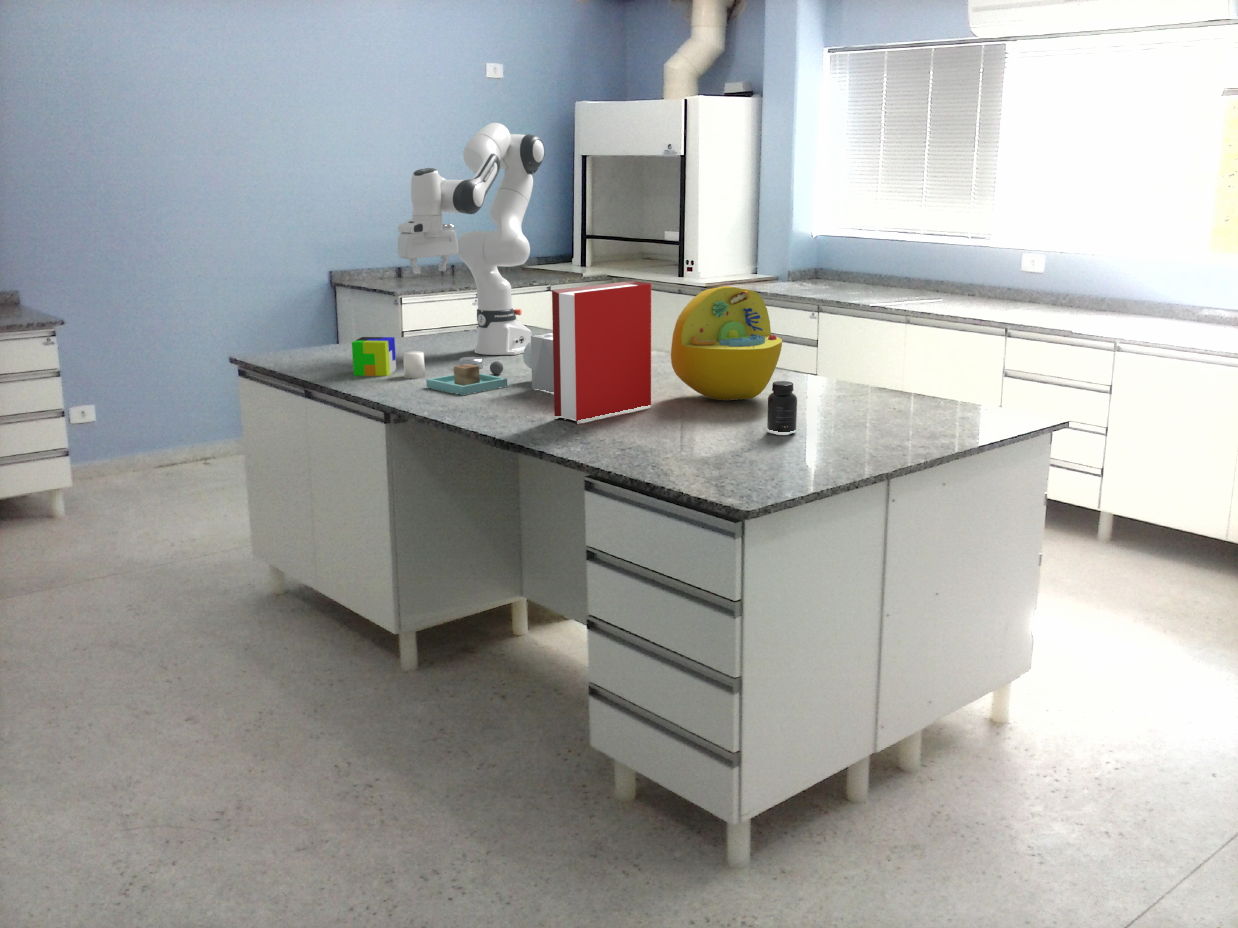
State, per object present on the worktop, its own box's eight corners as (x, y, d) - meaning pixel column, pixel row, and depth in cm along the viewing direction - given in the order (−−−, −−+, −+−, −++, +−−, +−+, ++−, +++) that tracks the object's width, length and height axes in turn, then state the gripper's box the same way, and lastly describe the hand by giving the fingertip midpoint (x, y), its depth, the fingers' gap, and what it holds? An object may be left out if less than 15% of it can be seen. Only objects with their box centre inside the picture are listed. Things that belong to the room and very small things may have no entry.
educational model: (716, 417, 292) (718, 296, 284) (649, 396, 316) (649, 284, 308) (806, 403, 307) (810, 288, 299) (736, 384, 331) (738, 277, 323)
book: (576, 425, 285) (574, 293, 277) (554, 419, 291) (551, 290, 282) (654, 407, 303) (654, 283, 295) (632, 403, 309) (632, 281, 300)
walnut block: (468, 381, 333) (467, 364, 332) (479, 383, 330) (479, 366, 328) (454, 384, 330) (453, 366, 328) (465, 386, 326) (465, 368, 325)
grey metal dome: (473, 365, 363) (472, 356, 363) (487, 368, 359) (487, 358, 358) (455, 368, 358) (454, 359, 358) (469, 371, 354) (469, 361, 353)
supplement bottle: (764, 429, 279) (765, 380, 276) (792, 429, 280) (794, 379, 277) (770, 436, 273) (771, 386, 270) (799, 435, 273) (800, 385, 270)
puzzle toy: (396, 370, 357) (394, 337, 354) (386, 376, 347) (384, 342, 344) (364, 369, 358) (362, 337, 355) (353, 375, 348) (351, 342, 345)
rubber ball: (497, 372, 351) (497, 359, 350) (506, 374, 348) (505, 361, 347) (487, 374, 348) (486, 361, 347) (496, 376, 345) (495, 363, 344)
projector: (642, 393, 321) (642, 338, 317) (590, 403, 309) (589, 346, 305) (560, 375, 346) (559, 324, 342) (509, 384, 334) (507, 331, 330)
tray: (470, 379, 341) (470, 371, 340) (507, 386, 330) (507, 378, 330) (426, 387, 330) (426, 379, 329) (463, 395, 319) (462, 387, 318)
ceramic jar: (416, 373, 350) (415, 350, 348) (429, 376, 346) (428, 353, 344) (400, 376, 346) (398, 353, 344) (412, 379, 342) (411, 355, 340)
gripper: (448, 223, 356) (450, 269, 360) (393, 226, 342) (395, 274, 345) (461, 223, 352) (463, 270, 356) (406, 227, 338) (408, 275, 341)
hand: (429, 272), depth 350 cm, fingers open, 8 cm apart
